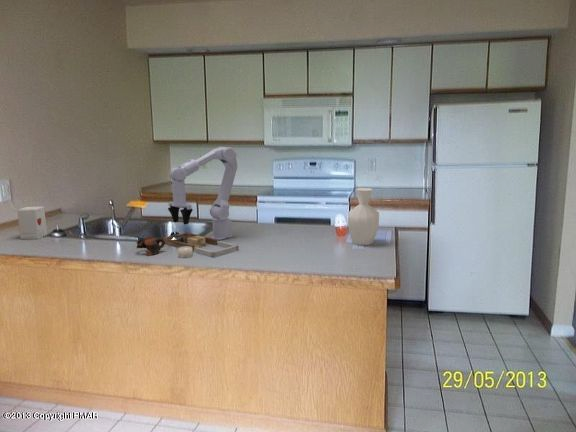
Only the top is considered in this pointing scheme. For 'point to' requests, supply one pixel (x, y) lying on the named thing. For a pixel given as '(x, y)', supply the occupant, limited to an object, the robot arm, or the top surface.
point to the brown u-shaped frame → (181, 244)
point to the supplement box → (32, 222)
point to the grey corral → (227, 249)
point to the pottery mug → (151, 245)
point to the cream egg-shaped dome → (185, 252)
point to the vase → (363, 219)
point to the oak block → (196, 241)
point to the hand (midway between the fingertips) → (181, 223)
